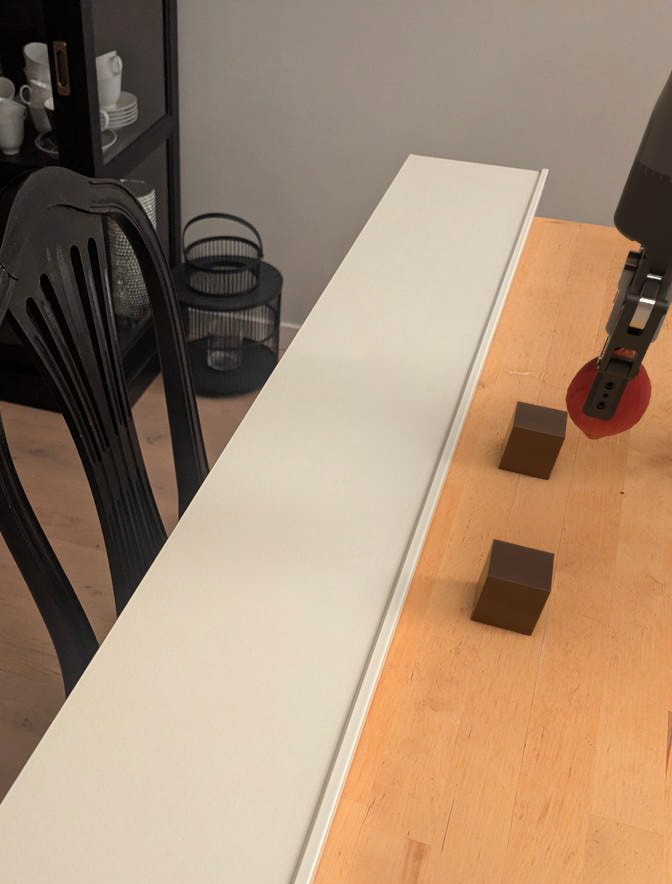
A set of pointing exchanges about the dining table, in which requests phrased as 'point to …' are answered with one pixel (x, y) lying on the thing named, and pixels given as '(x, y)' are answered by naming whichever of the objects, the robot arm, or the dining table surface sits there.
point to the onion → (628, 407)
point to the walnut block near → (513, 587)
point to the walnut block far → (533, 440)
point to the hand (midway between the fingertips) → (602, 394)
